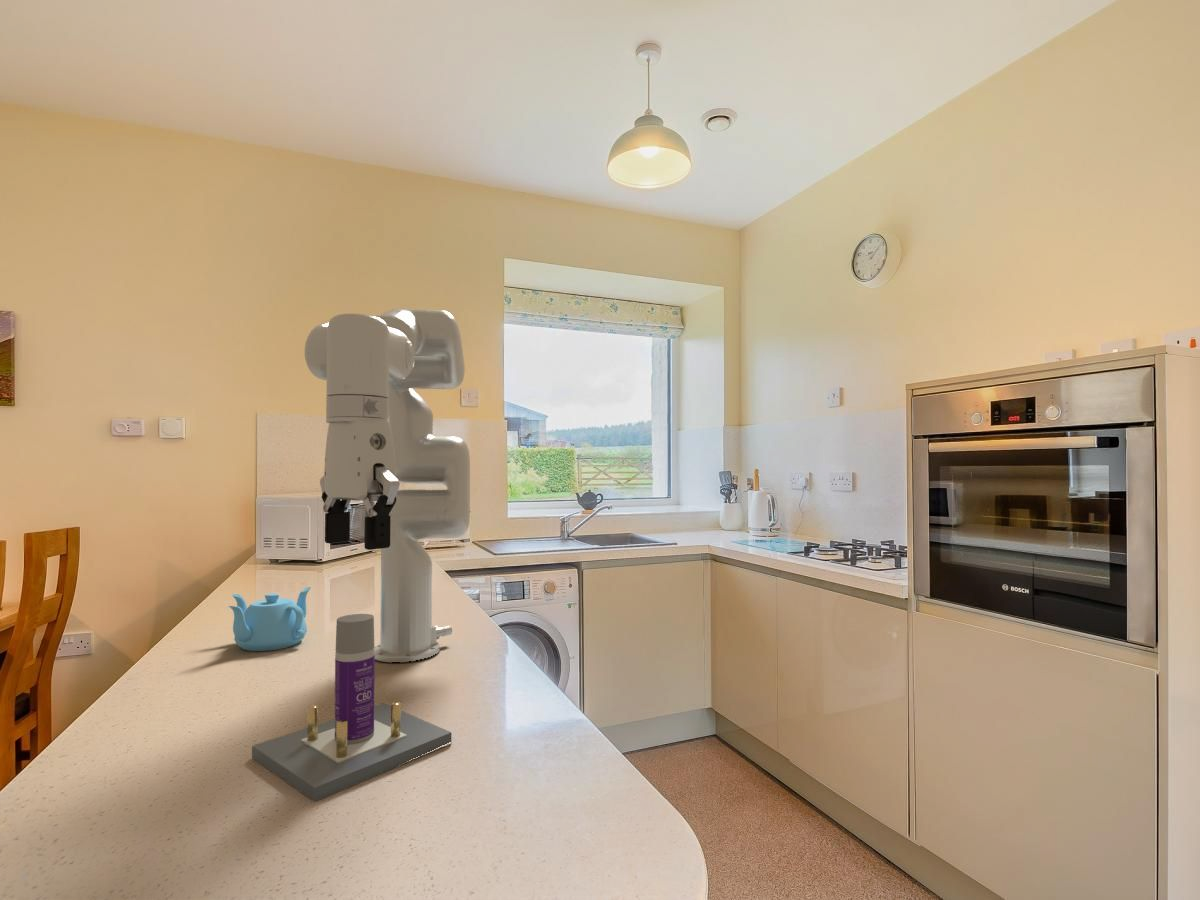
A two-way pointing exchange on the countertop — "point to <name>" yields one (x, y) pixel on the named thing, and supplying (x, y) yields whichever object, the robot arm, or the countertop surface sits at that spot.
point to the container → (355, 676)
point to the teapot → (269, 622)
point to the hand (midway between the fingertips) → (356, 545)
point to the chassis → (326, 774)
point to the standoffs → (342, 727)
